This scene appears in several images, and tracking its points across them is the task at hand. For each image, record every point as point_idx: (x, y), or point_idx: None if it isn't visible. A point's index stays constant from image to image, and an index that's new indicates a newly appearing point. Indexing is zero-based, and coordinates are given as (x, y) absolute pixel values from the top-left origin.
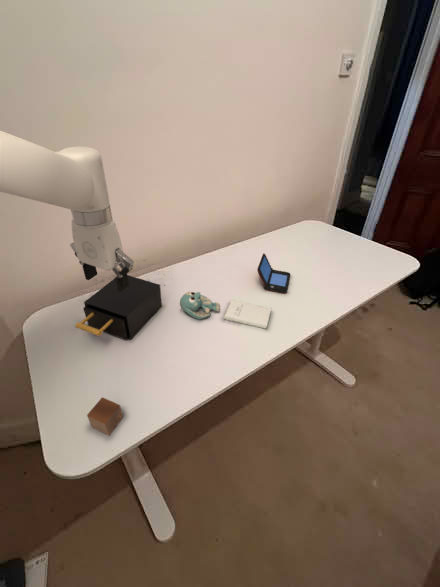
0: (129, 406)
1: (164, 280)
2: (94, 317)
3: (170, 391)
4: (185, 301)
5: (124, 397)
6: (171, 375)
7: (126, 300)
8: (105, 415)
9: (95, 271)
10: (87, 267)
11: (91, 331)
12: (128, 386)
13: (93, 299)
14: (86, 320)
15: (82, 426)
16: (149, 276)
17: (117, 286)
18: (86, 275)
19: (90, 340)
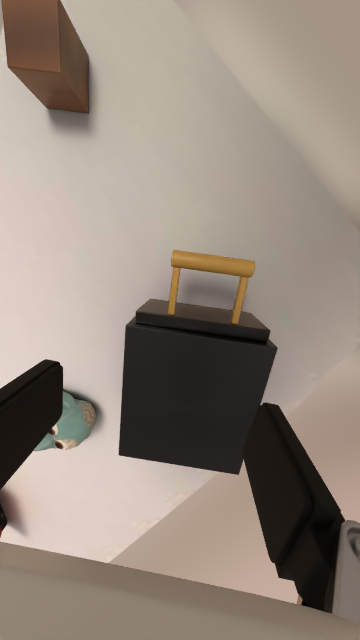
0: (51, 139)
1: (171, 470)
2: (230, 318)
3: (4, 205)
4: (63, 420)
5: (73, 158)
6: (24, 243)
7: (164, 383)
8: (15, 15)
9: (250, 468)
10: (291, 497)
11: (196, 254)
12: (82, 188)
13: (255, 365)
14: (237, 293)
15: (107, 49)
16: (205, 475)
17: (29, 378)
18: (278, 427)
19: (226, 279)
